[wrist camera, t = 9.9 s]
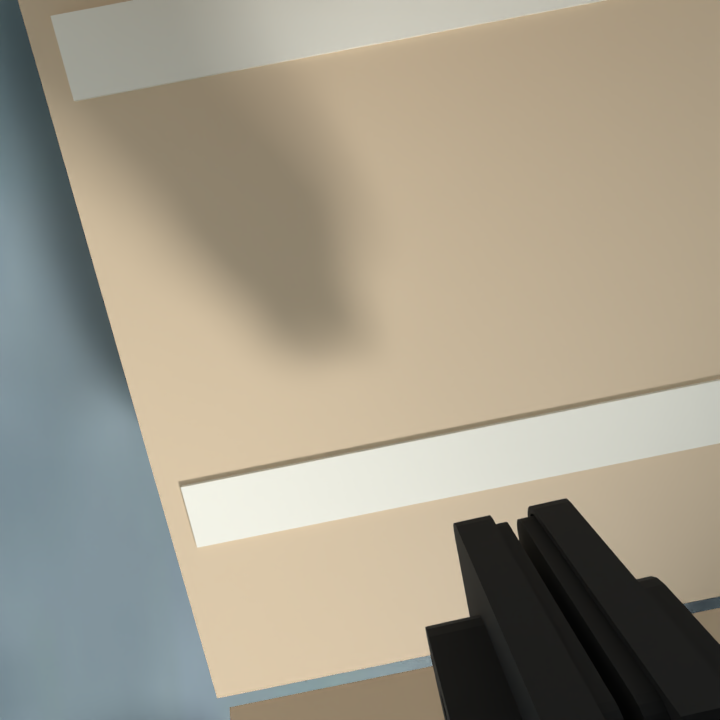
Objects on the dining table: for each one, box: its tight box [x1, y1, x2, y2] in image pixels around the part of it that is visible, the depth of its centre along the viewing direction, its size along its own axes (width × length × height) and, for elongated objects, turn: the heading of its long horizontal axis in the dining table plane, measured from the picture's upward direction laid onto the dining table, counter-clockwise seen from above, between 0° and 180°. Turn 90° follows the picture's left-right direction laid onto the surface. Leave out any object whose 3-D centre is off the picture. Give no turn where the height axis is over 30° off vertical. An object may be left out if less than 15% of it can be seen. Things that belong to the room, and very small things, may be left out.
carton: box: [18, 0, 720, 698], centre depth 16 cm, size 13×18×8 cm
